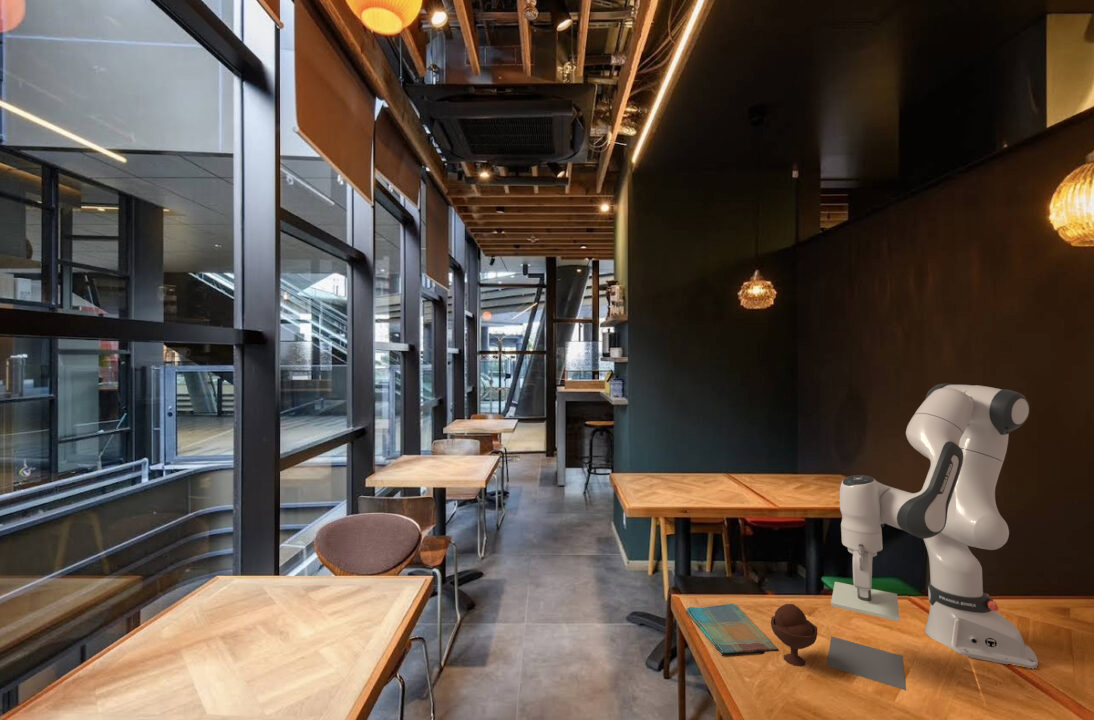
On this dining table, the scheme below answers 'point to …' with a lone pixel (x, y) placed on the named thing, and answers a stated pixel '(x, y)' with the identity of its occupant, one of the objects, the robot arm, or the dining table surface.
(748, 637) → the dish towel
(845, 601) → the lid
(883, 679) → the mat
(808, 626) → the ice cream bowl
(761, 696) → the dining table surface
